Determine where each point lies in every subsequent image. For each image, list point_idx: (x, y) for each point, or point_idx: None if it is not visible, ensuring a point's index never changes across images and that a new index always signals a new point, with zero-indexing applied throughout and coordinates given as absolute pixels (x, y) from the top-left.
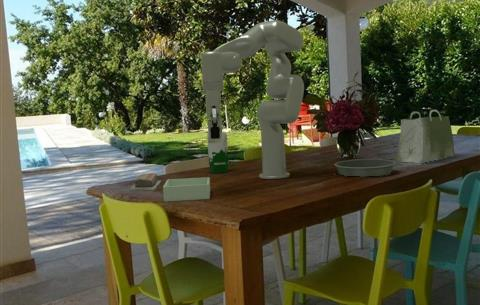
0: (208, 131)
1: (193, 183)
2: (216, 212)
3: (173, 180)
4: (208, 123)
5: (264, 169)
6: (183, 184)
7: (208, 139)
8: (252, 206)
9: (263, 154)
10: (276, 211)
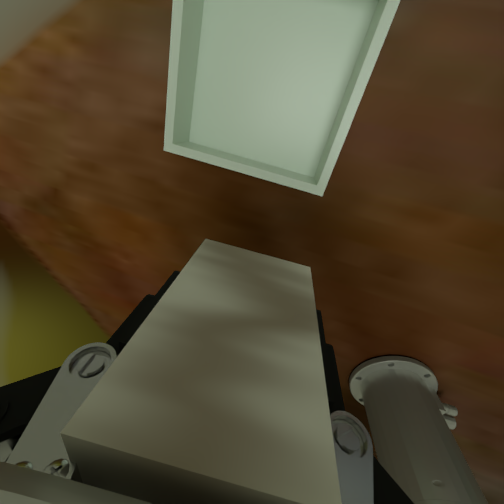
0: (165, 296)
1: (337, 123)
2: (16, 120)
3: (384, 5)
4: (104, 383)
5: (399, 383)
6: (355, 73)
7: (197, 251)
8: (70, 218)
9: (420, 432)
10: (22, 241)
